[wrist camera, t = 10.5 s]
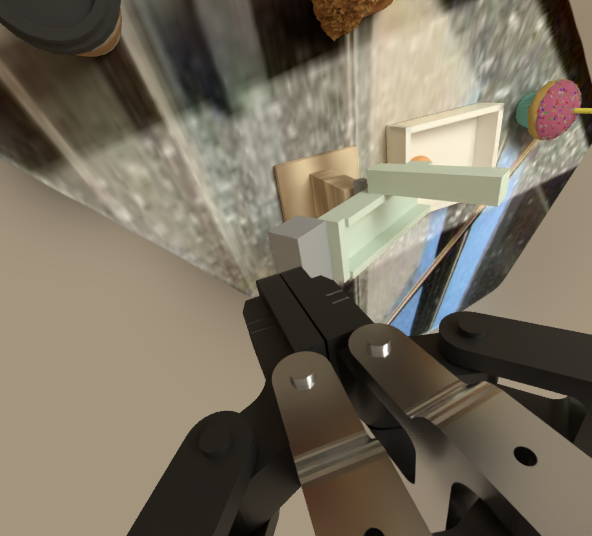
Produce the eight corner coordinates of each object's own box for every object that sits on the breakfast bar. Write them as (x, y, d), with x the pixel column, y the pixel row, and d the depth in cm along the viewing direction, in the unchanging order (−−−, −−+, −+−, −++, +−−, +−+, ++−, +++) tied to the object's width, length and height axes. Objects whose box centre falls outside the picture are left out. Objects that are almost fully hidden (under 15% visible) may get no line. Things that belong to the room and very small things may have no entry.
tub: (388, 211, 54) (405, 220, 50) (386, 125, 47) (405, 128, 44) (470, 185, 57) (492, 191, 54) (478, 102, 51) (504, 103, 47)
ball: (406, 153, 48) (432, 151, 47) (410, 159, 52) (435, 158, 50) (403, 178, 49) (429, 177, 47) (407, 183, 52) (432, 182, 50)
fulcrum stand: (287, 233, 49) (316, 265, 40) (273, 165, 44) (304, 183, 35) (358, 211, 52) (401, 236, 43) (353, 145, 47) (401, 156, 38)
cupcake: (552, 77, 54) (642, 72, 44) (539, 133, 58) (619, 140, 48) (510, 84, 52) (595, 81, 42) (500, 141, 56) (576, 151, 46)
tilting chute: (282, 296, 34) (435, 358, 24) (262, 207, 29) (443, 238, 19) (393, 211, 47) (520, 228, 37) (391, 141, 42) (537, 139, 33)
